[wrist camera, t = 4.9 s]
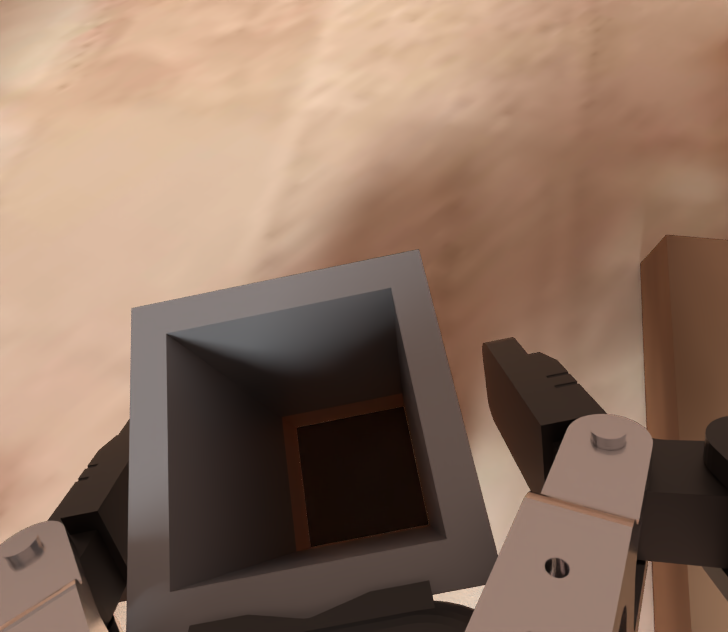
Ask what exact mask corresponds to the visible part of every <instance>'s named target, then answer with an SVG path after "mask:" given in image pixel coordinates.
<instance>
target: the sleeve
mask: <svg viewBox="0 0 728 632" xmlns="http://www.w3.org/2000/svg"><path fill="white" fill-rule="evenodd" d="M398 407H404V410H405V414H406V419H407V424H408V429H409V433H410V438H411V443H412V448H413V452H414V457H415V462H416V467H417V471H418V476H419V481H420V485H421V490H422V495H423V500H424V504H425V509H426V514H427V519H428V523H429V524H428V525H423V526H418V527H412V528H407V529H402V530H397V531H392V532H386V533H381V534H376V535H371V536H366V537H360V538H355V539H350V540H345V541H340V542H334V543H329V544H324V545H319V546H314V547H311V544H310V536H309V527H308V519H307V511H306V503H305V494H304V486H303V478H302V469H301V461H300V453H299V444H298V436H297V428H298V427H303V426H308V425H313V424H318V423H323V422H328V421H333V420H338V419H343V418H348V417H353V416H358V415H363V414H368V413H373V412H378V411H383V410H388V409H393V408H398ZM497 558H498V554H497V550H496V546H495V543H494V539H493V535H492V531H491V527H490V523H489V519H488V515H487V512H486V508H485V504H484V500H483V496H482V492H481V488H480V484H479V480H478V477H477V473H476V469H475V465H474V461H473V457H472V453H471V449H470V446H469V442H468V438H467V434H466V430H465V426H464V422H463V418H462V414H461V411H460V407H459V403H458V399H457V395H456V391H455V387H454V383H453V380H452V376H451V372H450V368H449V364H448V360H447V356H446V352H445V348H444V345H443V341H442V337H441V333H440V329H439V325H438V321H437V317H436V314H435V310H434V306H433V302H432V298H431V294H430V290H429V286H428V282H427V279H426V275H425V271H424V267H423V263H422V259H421V255H420V251H419V249H417V250H412V251H407V252H403V253H398V254H393V255H388V256H383V257H378V258H373V259H368V260H364V261H359V262H354V263H349V264H344V265H339V266H334V267H330V268H325V269H320V270H315V271H310V272H305V273H300V274H296V275H291V276H286V277H281V278H276V279H271V280H266V281H262V282H257V283H252V284H247V285H242V286H237V287H232V288H227V289H223V290H218V291H213V292H208V293H203V294H198V295H193V296H189V297H184V298H179V299H174V300H169V301H164V302H159V303H155V304H150V305H145V306H140V307H135V308H132V310H131V372H130V435H129V497H128V560H127V622H126V632H188V629H189V626H190V625H195V624H200V623H206V622H211V621H216V620H222V619H227V618H232V617H238V616H243V615H261V616H274V617H287V618H301V619H305V618H311V617H313V616H316V615H318V614H320V613H323V612H325V611H327V610H329V609H332V608H334V607H336V606H338V605H341V604H343V603H345V602H347V601H350V600H352V599H354V598H356V597H359V596H361V595H363V594H365V593H368V592H370V591H375V590H381V589H386V588H391V587H396V586H402V585H407V584H412V583H418V582H423V581H428V580H429V581H430V586H431V591H432V595H434V594H440V593H445V592H450V591H455V590H461V589H466V588H471V587H477V586H482V585H486V583H487V580H488V578H489V576H490V574H491V571H492V569H493V567H494V565H495V562H496V560H497Z"/></svg>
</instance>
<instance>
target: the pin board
mask: <svg viewBox="0 0 728 632" xmlns="http://www.w3.org/2000/svg"><path fill="white" fill-rule="evenodd" d="M640 266H641V291H642V316H643V341H644V366H645V391H646V416H647V431H648V432H649V433H650V435H651V436H652V438H655V439H663V440H694V441H705V432H706V428H707V426H708V425H709V424H710V423H711V422H712V421H714V420H715V419H718V418H721V417H725V416H728V240H720V239H709V238H698V237H687V236H675V235H666V236H665V237H664V238H663V239H662V240H661V241H660V242H659V244H658V245H657V246H656V247H655V248H654V249H653V250H652V251H651V252H650V254H649V255H648V256H647V257H646V258H645V259H644V260H643V261H642V262H641V264H640ZM652 567H653V592H654V617H655V632H728V601H727V600H726V599H725V597H724V596H723V594H722V593H721V592H720V590H719V589H718V588H717V586H716V585H715V584H714V582H713V581H712V580H711V578H710V577H709V576H708V574H707V573H706V572H705V570H704V569H703V568H702V566H694V565H684V564H674V563H664V562H654V561H652Z"/></svg>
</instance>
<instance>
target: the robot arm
mask: <svg viewBox="0 0 728 632" xmlns="http://www.w3.org/2000/svg"><path fill="white" fill-rule="evenodd" d="M482 353H483V362H484V371H485V380H486V388H487V397H488V403H489V407H490V411H491V414H492V417H493V420H494V422H495V424H496V426H497V428H498V430H499V431H500V433H501V435H502V437H503V439H504V441H505V443H506V445H507V447H508V448H509V450H510V452H511V454H512V456H513V458H514V460H515V462H516V464H517V466H518V467H519V469H520V471H521V473H522V475H523V477H524V479H525V481H526V483H527V484H528V486H529V488H530V490H531V491H530V492H528V493H527V494H526V496H525V497H524V499H523V501H522V504H521V506H520V508H519V510H518V513H517V515H516V517H515V519H514V522H513V524H512V526H511V528H510V531H509V533H508V535H507V537H506V540H505V542H504V544H503V546H502V549H501V551H500V553H499V555H498V558H497V560H496V562H495V565H494V567H493V569H492V571H491V574H490V576H489V578H488V580H487V583H486V585H485V587H484V589H483V592H482V594H481V596H480V598H479V601H478V603H477V605H476V607H475V609H472V608H469V607H466V606H463V605H460V604H455V603H450V602H443V601H433V596H432V591H431V586H430V581H429V580H428V581H423V582H418V583H412V584H407V585H402V586H396V587H391V588H386V589H381V590H375V591H370V592H368V593H365V594H363V595H361V596H359V597H356V598H354V599H352V600H350V601H347V602H345V603H343V604H341V605H338V606H336V607H334V608H332V609H329V610H327V611H325V612H323V613H320V614H318V615H316V616H313V617H311V618H305V619H301V618H287V617H274V616H261V615H243V616H238V617H232V618H227V619H222V620H216V621H211V622H206V623H200V624H195V625H190V626H189V629H188V632H638V625H639V619H640V612H641V606H642V599H643V592H644V586H645V579H646V573H647V566H648V561H654V562H664V563H674V564H684V565H694V566H702V568H703V569H704V570H705V572H706V573H707V574H708V576H709V577H710V578H711V580H712V581H713V582H714V584H715V585H716V586H717V588H718V589H719V590H720V592H721V593H722V594H723V596H724V597H725V599H726V600H727V601H728V416H725V417H721V418H718V419H715V420H714V421H712V422H711V423H710V424H709V425H708V426H707V428H706V432H705V441H694V440H663V439H655V438H652V436H651V435H650V433H649V432H648V431H647V430H646V429H645V428H644V427H643V426H642V425H640V424H639V423H637V422H635V421H633V420H631V419H628V418H625V417H622V416H617V415H611V414H607V413H606V412H605V411H604V410H603V409H602V408H601V407H600V406H599V405H598V404H597V402H596V401H595V400H594V399H593V398H592V397H591V396H590V395H589V394H588V393H587V392H586V391H585V390H584V388H583V387H582V386H581V385H580V384H577V381H576V380H575V379H574V378H573V377H572V376H571V375H570V374H568V371H567V370H566V369H565V368H564V367H563V366H562V365H561V364H560V363H559V362H558V361H557V360H556V359H553V358H551V357H549V356H547V355H545V354H543V353H540V352H537V353H532V354H527V353H526V351H525V350H524V349H523V348H522V346H521V345H520V344H519V343H518V342H517V340H516V339H515V338H513V337H511V338H506V339H501V340H496V341H491V342H486V343H483V346H482ZM129 435H130V419H129V420H128V422H127V423H126V425H125V426H124V428H123V429H122V430H121V432H120V433H119V435H117V436H115V437H114V438H113V439H112V440H111V441H109V442H108V443H107V444H106V445H105V446H103V447H102V448H101V449H100V450H99V451H98V452H97V453H96V455H95V456H94V458H93V459H92V460H91V462H90V463H89V464H88V468H87V469H85V470H84V471H83V473H82V474H81V475H80V477H79V478H78V480H79V481H78V482H75V484H74V485H73V486H72V488H71V489H70V491H69V492H68V493H67V495H66V496H65V497H64V499H63V500H62V502H61V503H60V504H59V506H58V507H57V508H56V510H55V511H54V513H53V514H52V515H51V517H50V518H49V519H48V521H45V522H41V523H38V524H35V525H32V526H30V527H27V528H25V529H23V530H21V531H20V532H18V533H16V534H14V535H13V536H11V537H10V538H8V539H7V540H6V541H4V542H3V543H2V544H1V545H0V632H123V630H122V628H121V625H120V623H119V621H118V619H117V617H116V616H115V614H114V611H115V609H116V607H117V605H118V602H123V601H127V560H128V497H129Z"/></svg>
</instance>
